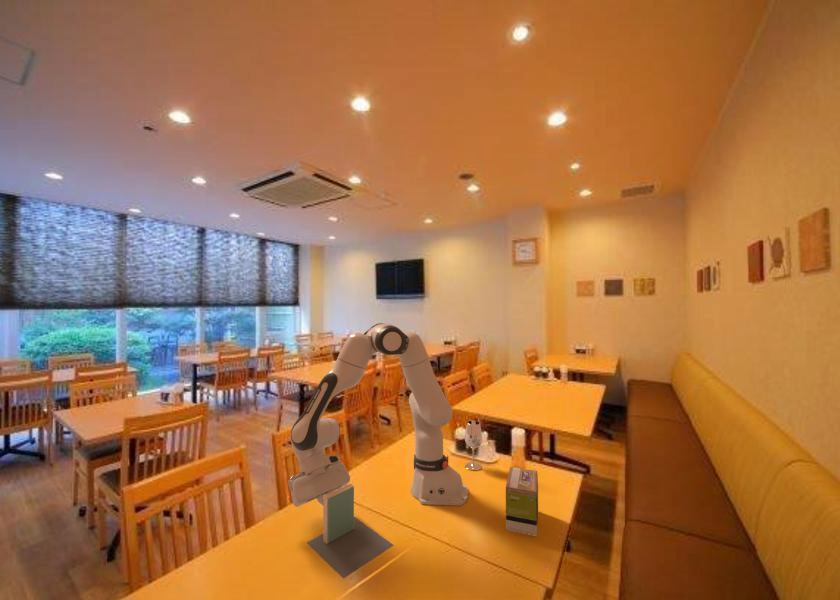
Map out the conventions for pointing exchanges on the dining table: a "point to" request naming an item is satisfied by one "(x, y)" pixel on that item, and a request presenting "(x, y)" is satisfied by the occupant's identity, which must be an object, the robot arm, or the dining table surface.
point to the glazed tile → (338, 513)
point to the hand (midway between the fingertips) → (329, 507)
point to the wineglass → (473, 441)
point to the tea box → (522, 501)
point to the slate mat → (351, 548)
